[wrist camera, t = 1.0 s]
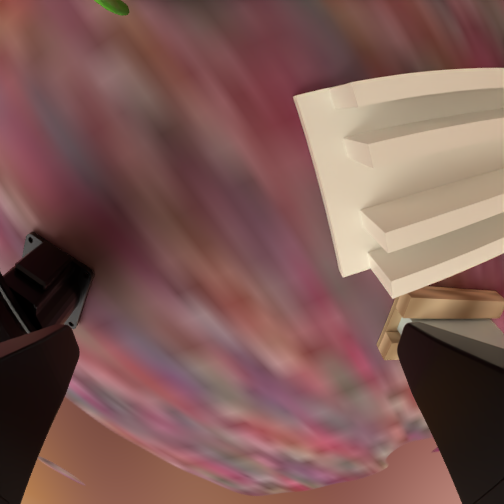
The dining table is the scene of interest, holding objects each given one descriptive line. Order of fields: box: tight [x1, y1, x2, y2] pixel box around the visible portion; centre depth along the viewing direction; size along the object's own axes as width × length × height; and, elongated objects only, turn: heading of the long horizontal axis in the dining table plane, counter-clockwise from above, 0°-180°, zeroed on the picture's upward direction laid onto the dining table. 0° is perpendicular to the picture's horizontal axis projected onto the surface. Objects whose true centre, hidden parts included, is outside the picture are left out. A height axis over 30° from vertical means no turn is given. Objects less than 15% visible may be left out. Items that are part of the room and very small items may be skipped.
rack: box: [293, 68, 504, 299], centre depth 16 cm, size 20×12×5 cm, turn 108°
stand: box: [377, 286, 504, 360], centre depth 23 cm, size 12×6×2 cm, turn 83°
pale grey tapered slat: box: [397, 318, 504, 349], centre depth 19 cm, size 10×2×10 cm, turn 83°
